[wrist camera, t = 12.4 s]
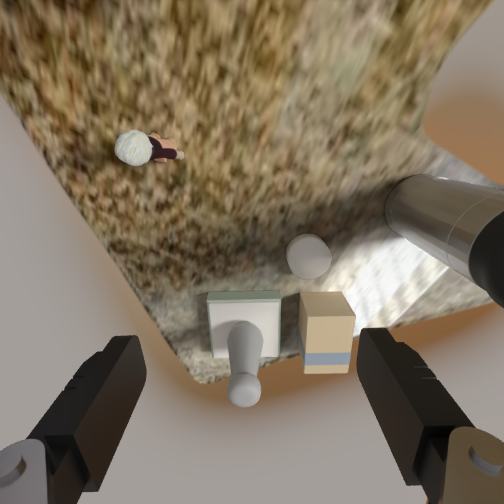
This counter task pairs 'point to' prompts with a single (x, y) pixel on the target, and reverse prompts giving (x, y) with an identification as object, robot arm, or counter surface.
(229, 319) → the podium
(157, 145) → the grandmother figurine
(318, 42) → the counter surface
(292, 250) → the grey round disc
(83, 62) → the counter surface
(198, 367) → the counter surface
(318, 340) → the kraft carton
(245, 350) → the salt shaker
